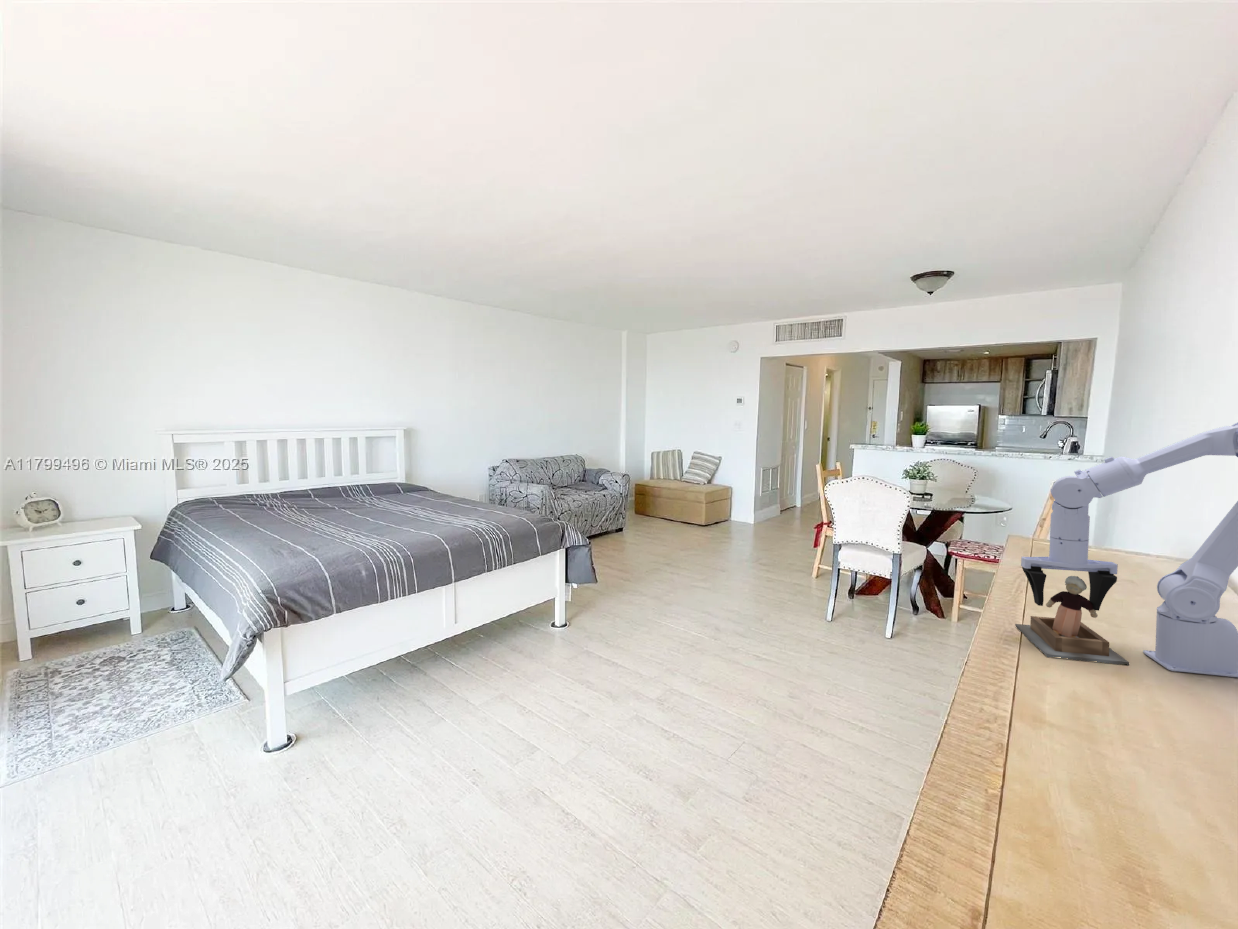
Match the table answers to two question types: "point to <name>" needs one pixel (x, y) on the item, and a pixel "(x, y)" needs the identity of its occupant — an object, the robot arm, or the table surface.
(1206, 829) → the table surface
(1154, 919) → the table surface
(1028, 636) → the wooden tray
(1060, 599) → the grandmother figurine
